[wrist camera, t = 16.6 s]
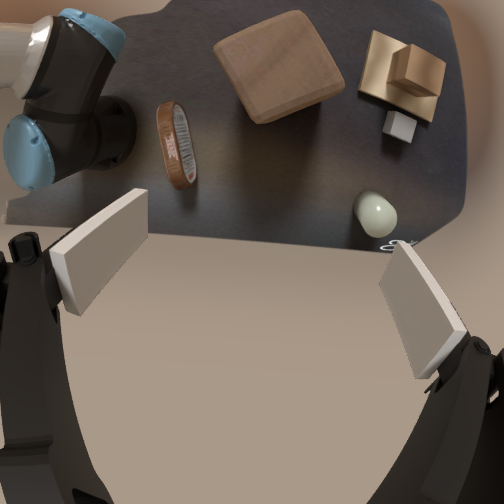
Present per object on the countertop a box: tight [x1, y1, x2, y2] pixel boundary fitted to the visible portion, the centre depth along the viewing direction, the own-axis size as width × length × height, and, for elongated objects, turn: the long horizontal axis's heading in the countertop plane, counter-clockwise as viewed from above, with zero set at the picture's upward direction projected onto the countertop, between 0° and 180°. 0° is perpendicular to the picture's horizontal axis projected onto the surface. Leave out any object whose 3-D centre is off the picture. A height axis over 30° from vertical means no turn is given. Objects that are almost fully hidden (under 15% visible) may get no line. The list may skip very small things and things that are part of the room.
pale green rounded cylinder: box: [353, 190, 397, 238], centre depth 42 cm, size 6×6×7 cm
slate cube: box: [382, 111, 417, 143], centre depth 36 cm, size 4×4×4 cm
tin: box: [156, 101, 197, 190], centre depth 40 cm, size 15×3×8 cm, turn 9°
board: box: [358, 30, 438, 122], centre depth 32 cm, size 14×12×2 cm
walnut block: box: [386, 44, 446, 97], centre depth 28 cm, size 6×6×8 cm
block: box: [213, 10, 345, 124], centre depth 29 cm, size 10×10×20 cm
